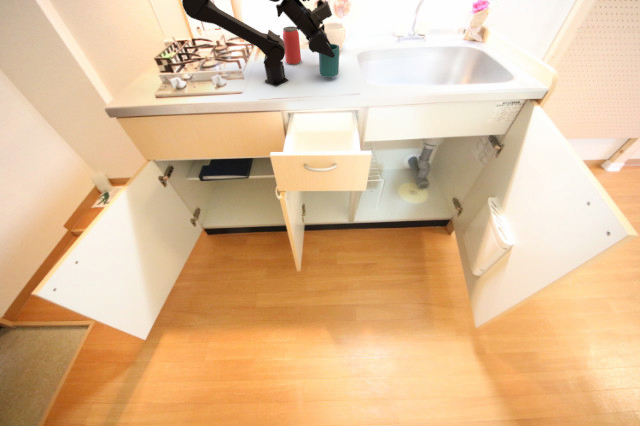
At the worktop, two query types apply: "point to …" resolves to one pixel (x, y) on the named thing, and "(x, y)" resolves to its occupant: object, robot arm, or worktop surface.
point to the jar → (329, 62)
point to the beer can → (291, 45)
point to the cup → (335, 33)
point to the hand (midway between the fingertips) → (332, 52)
